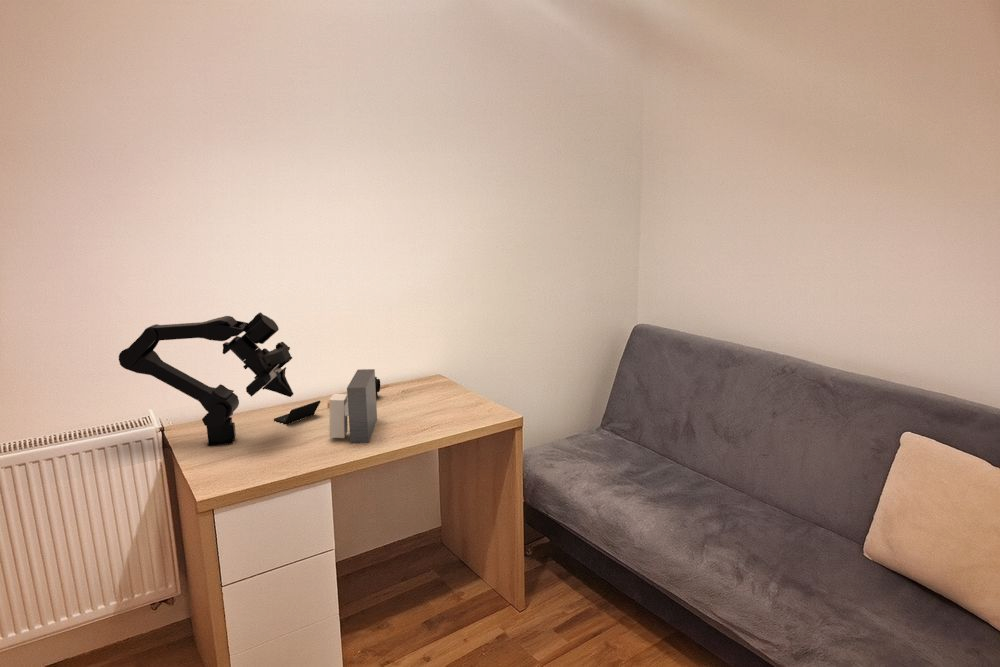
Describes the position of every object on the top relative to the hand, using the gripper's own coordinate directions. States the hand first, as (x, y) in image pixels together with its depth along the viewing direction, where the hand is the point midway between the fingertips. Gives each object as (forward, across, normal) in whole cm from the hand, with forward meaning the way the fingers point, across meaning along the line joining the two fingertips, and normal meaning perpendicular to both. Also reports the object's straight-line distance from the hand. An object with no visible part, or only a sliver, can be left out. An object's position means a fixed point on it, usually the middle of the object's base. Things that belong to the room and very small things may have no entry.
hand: (292, 395), depth 179 cm
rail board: (+21, +5, -5) cm, 23 cm away
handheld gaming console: (+8, +14, +14) cm, 22 cm away
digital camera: (+21, +32, +2) cm, 38 cm away
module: (+16, 0, -2) cm, 16 cm away
